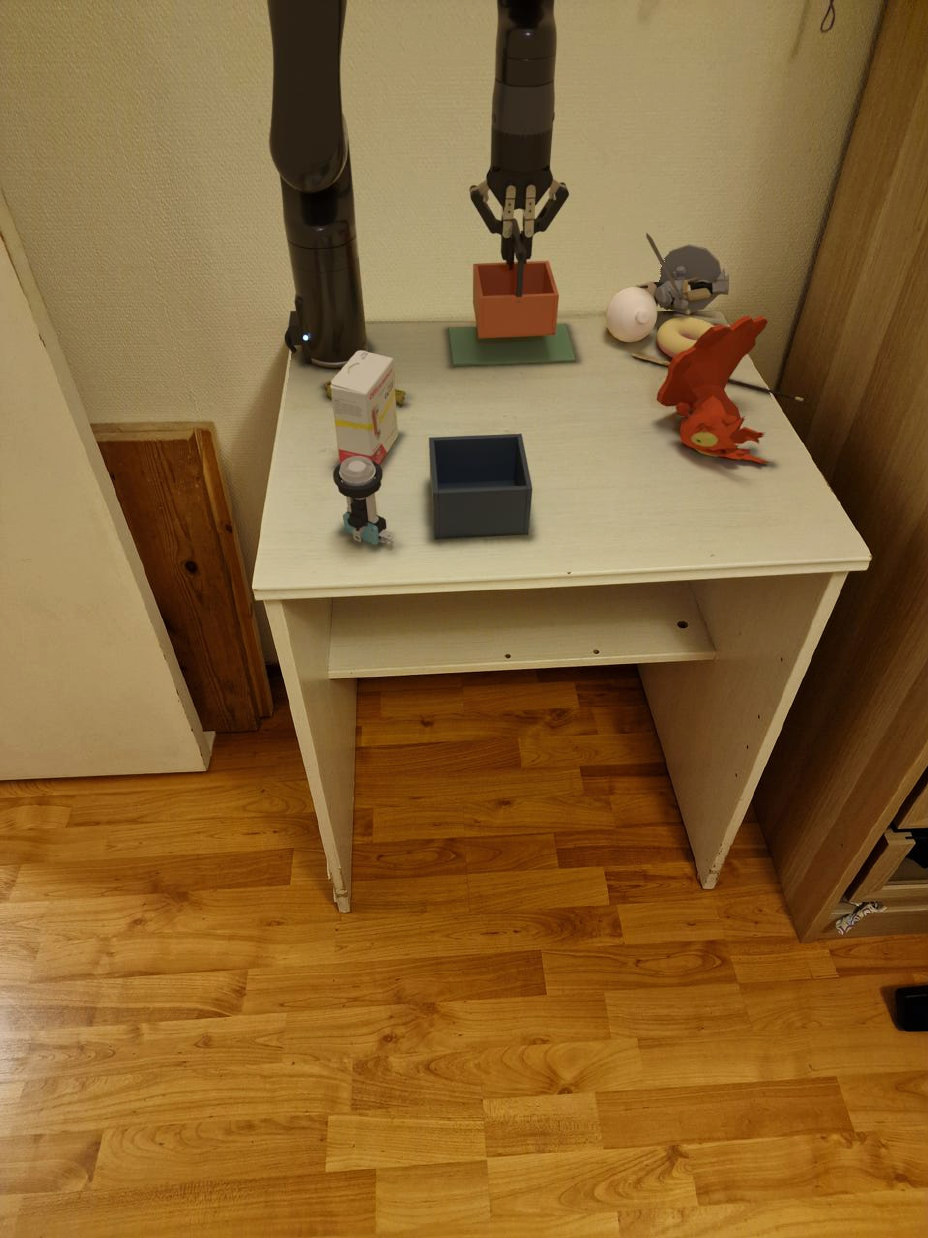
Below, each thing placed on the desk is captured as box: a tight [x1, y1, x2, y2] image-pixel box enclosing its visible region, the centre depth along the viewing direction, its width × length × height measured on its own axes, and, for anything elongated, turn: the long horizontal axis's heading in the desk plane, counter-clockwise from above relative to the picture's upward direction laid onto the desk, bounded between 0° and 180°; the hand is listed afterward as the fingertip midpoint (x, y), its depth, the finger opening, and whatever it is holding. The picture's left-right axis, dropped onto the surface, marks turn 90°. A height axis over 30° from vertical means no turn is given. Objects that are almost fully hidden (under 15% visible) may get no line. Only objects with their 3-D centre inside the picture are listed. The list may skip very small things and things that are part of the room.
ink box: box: [330, 350, 399, 466], centre depth 99 cm, size 9×5×12 cm, turn 160°
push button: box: [332, 456, 395, 546], centre depth 89 cm, size 7×5×10 cm
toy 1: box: [634, 232, 730, 316], centre depth 118 cm, size 20×11×15 cm
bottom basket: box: [428, 433, 533, 540], centre depth 94 cm, size 11×10×7 cm
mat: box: [448, 323, 577, 367], centre depth 120 cm, size 18×10×1 cm, turn 94°
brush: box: [631, 353, 804, 403], centre depth 115 cm, size 1×1×25 cm
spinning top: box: [605, 286, 658, 343], centre depth 120 cm, size 8×8×12 cm
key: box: [324, 380, 406, 406], centre depth 111 cm, size 12×1×5 cm
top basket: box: [472, 217, 560, 338], centre depth 112 cm, size 11×10×12 cm
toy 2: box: [655, 315, 771, 465], centre depth 101 cm, size 13×18×15 cm
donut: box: [656, 316, 715, 359], centre depth 118 cm, size 10×5×9 cm
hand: (515, 261), depth 110 cm, fingers closed on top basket, 1 cm apart
